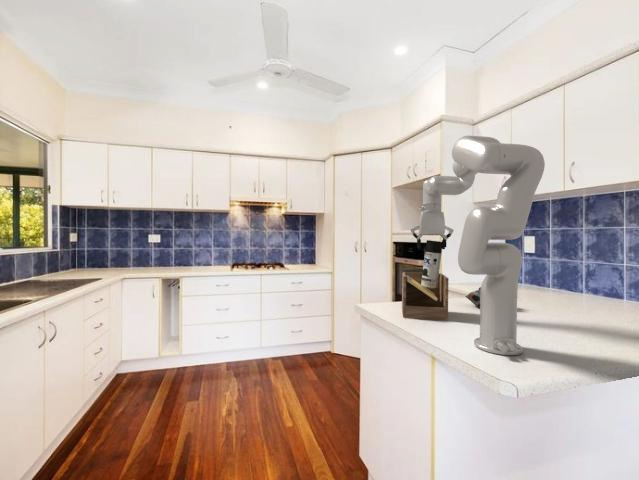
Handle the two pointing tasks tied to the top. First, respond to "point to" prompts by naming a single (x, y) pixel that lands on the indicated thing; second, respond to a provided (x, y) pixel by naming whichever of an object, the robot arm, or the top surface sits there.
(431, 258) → the spray can
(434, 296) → the trapdoor
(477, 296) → the lucky cat figurine
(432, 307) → the stand
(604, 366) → the top surface
